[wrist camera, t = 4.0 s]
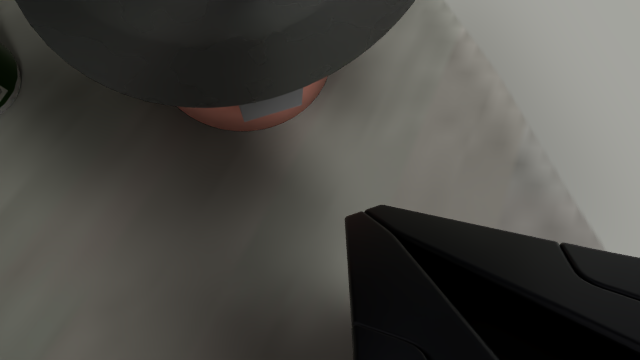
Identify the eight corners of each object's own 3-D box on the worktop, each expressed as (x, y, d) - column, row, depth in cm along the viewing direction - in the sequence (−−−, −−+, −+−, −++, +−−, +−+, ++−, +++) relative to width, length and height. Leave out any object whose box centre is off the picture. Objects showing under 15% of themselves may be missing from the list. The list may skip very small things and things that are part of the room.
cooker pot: (394, 100, 23) (429, 44, 18) (143, 178, 21) (88, 142, 15) (329, -51, 26) (341, -145, 20) (96, 4, 23) (32, -85, 18)
